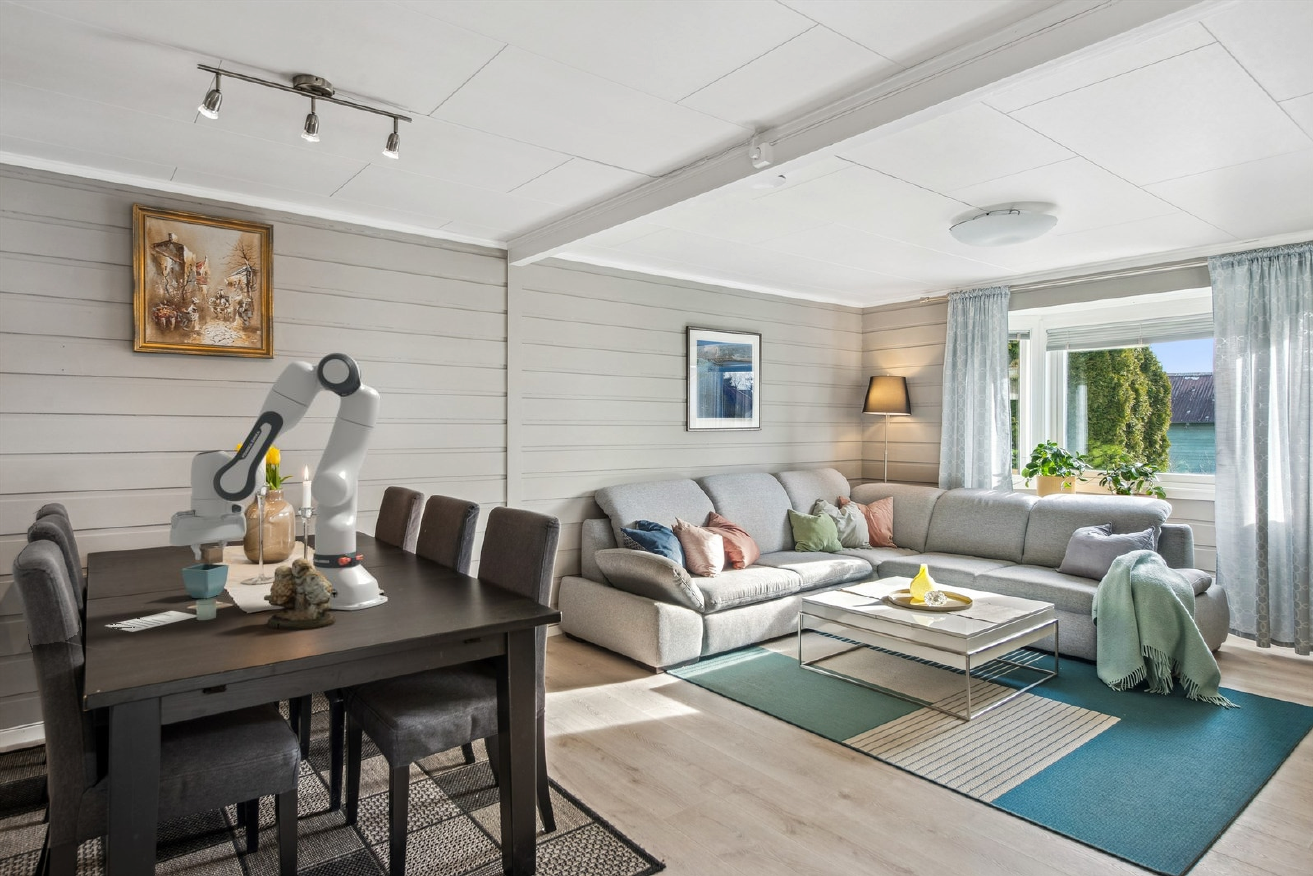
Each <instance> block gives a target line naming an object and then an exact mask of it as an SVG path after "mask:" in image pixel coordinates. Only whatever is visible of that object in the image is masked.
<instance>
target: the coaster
mask: <svg viewBox="0 0 1313 876" xmlns="http://www.w3.org/2000/svg"><path fill="white" fill-rule="evenodd" d="M231 606H234V604H233V603H229V602H228V603H227V602H222V601H217V600H216V610H218V609H223V608H228V607H231ZM186 609H187V610H194V611H197V604H195V605H191V606H187V608H186Z"/></svg>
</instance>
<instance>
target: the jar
mask: <svg viewBox="0 0 1313 876" xmlns="http://www.w3.org/2000/svg"><path fill="white" fill-rule="evenodd" d="M216 601H217V598H214V597H210V598H207V599H205V598H200V599H198V600H196V602H195V605H197V610H196V615H197V617H196V620H197V621H208V620H209V621H210V620H214V619H216V618H217V609H216Z"/></svg>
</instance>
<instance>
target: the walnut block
mask: <svg viewBox="0 0 1313 876" xmlns="http://www.w3.org/2000/svg"><path fill="white" fill-rule="evenodd" d="M198 548H199V550H200V551H201V553H204V559H201V560H196V559H195V558H194V562H195V563H198V564H220V563H224V550H223V548H219V547H218V546H213V545H212V546H210V545H207V546H202V547H198Z"/></svg>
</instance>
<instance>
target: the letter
mask: <svg viewBox="0 0 1313 876" xmlns="http://www.w3.org/2000/svg"><path fill="white" fill-rule="evenodd" d="M139 618H140V619H137V618H133V619H128V620H124V621H120V622H118V623H121V624H116V625H115V624H114V623H112V624H113V625H110V624H106V625H104V627H108V628H112V627H132V628H122V629H120V630H123V631H126V632H127V631H128V632H137V631H142V630H146V629H152V628H154V627H158V626H164V625H168V624H171V623H172V624H173V623H176V622H180V621H185V620H188V619H189V620H190V619H193V618H197V614H192V613H187V612H180V611H175V610H170V611H166V612H165V611H164V612H159V613H156V614H152V615H148V616H143V617H142V616H141V617H139ZM133 627H135V628H133Z"/></svg>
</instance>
